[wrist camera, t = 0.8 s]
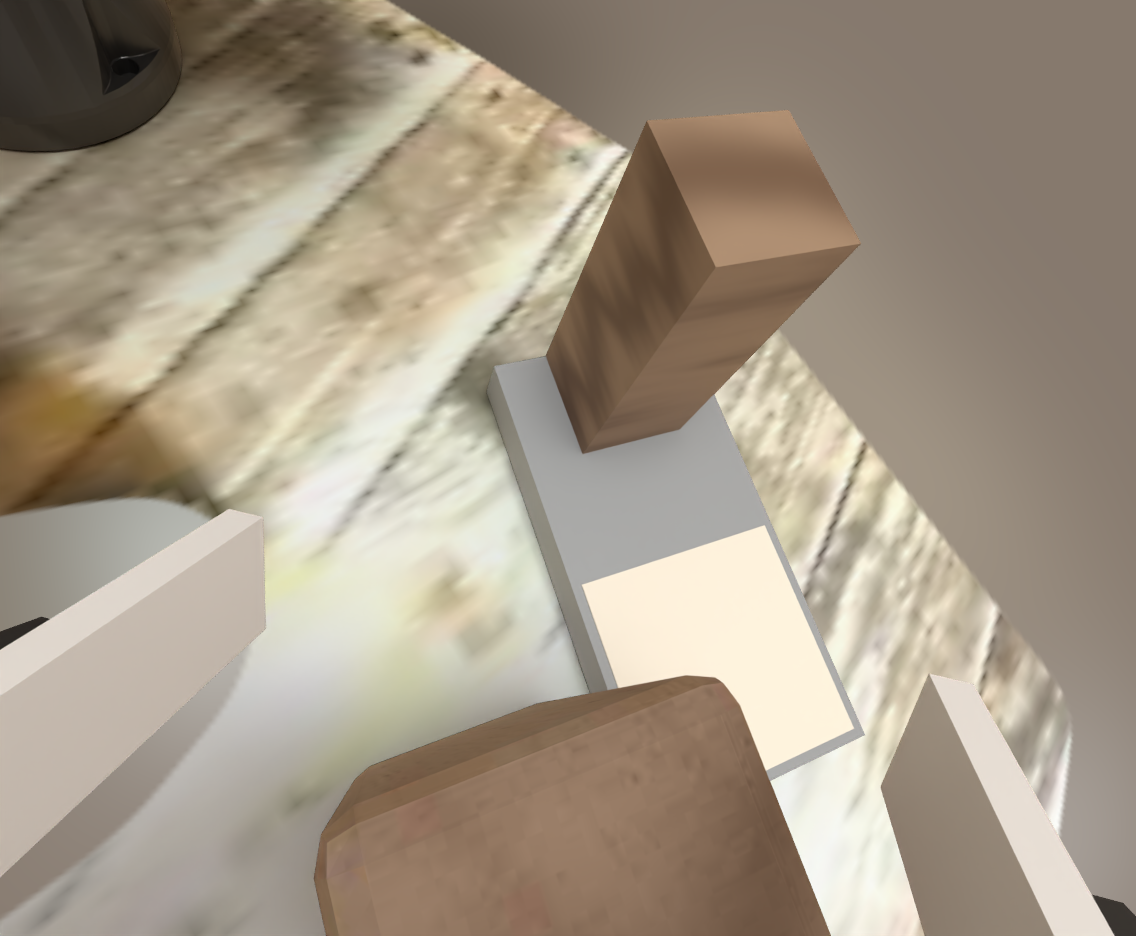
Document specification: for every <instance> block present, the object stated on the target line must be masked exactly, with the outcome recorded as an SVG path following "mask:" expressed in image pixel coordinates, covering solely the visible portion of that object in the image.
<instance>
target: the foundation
mask: <svg viewBox="0 0 1136 936" xmlns="http://www.w3.org/2000/svg"><path fill="white" fill-rule="evenodd" d="M487 394H488V397H489V400H490V403H491V406H492V409H493V412H494V415H495V418H496V421H497V424H498V426H499V429H500V432H501V435H502V438H503V441H504V444H505V447H506V450H507V453H508V456H509V458H510V461H511V464H512V467H513V470H514V473H515V476H516V479H517V482H518V485H519V488H520V490H521V493H522V496H523V499H524V502H525V505H526V508H527V511H528V514H529V517H530V519H531V522H532V525H533V528H534V531H535V534H536V537H537V540H538V543H539V546H540V549H541V551H542V554H543V557H544V560H545V563H546V566H547V569H548V572H549V575H550V578H551V581H552V583H553V586H554V589H555V592H556V595H557V598H558V601H559V604H560V607H561V610H562V613H563V615H564V618H565V621H566V624H567V627H568V630H569V633H570V636H571V639H572V642H573V645H574V647H575V650H576V653H577V656H578V659H579V662H580V665H581V668H582V671H583V674H584V677H585V679H586V682H587V685H588V688H589V691H590V693H595V692H601V691H606V690H611V689H616V688H622V687H627V686H632V685H637V684H643V683H648V682H653V681H658V680H664V679H669V678H674V677H679V676H685V675H690V676H704V677H715V678H717V679H718V680H720V681H721V682H723V683H724V684H725V686H726V687H727V688H728V690H729V691H730V692H731V694H732V695H733V696H734V698H735V699H736V700H737V702H738V703H739V704H740V707H741V709H742V712H743V714H744V717H745V719H746V722H747V724H748V727H749V729H750V732H751V734H752V737H753V739H754V742H755V745H756V747H757V750H758V752H759V755H760V757H761V760H762V762H763V765H764V767H765V770H766V772H767V775H768V777H769V780H770V781H771V780H773V779H775V778H777V777H779V776H781V775H783V774H785V773H787V772H789V771H791V770H793V769H796V768H798V767H800V766H802V765H804V764H806V763H808V762H810V761H812V760H814V759H816V758H818V757H820V756H822V755H825V754H827V753H829V752H831V751H833V750H835V749H837V748H839V747H841V746H843V745H845V744H847V743H849V742H851V741H853V740H856V739H858V738H860V737H862V736H864V735H865V734H864V732H863V729H862V727H861V725H860V723H859V720H858V718H857V716H856V714H855V711H854V709H853V707H852V705H851V702H850V700H849V698H848V696H847V693H846V691H845V689H844V687H843V684H842V682H841V680H840V678H839V675H838V673H837V671H836V669H835V666H834V664H833V662H832V659H831V657H830V655H829V653H828V650H827V648H826V646H825V644H824V641H823V639H822V637H821V635H820V632H819V630H818V628H817V626H816V623H815V621H814V619H813V617H812V614H811V612H810V610H809V608H808V605H807V603H806V601H805V599H804V596H803V594H802V592H801V589H800V587H799V585H798V583H797V580H796V578H795V576H794V574H793V571H792V569H791V567H790V565H789V562H788V560H787V558H786V556H785V553H784V551H783V549H782V547H781V544H780V542H779V540H778V538H777V535H776V533H775V531H774V529H773V526H772V524H771V522H770V520H769V517H768V515H767V513H766V510H765V508H764V506H763V504H762V501H761V499H760V497H759V495H758V492H757V490H756V488H755V486H754V483H753V481H752V479H751V477H750V474H749V472H748V470H747V468H746V465H745V463H744V461H743V459H742V456H741V454H740V452H739V450H738V447H737V445H736V443H735V440H734V438H733V436H732V434H731V431H730V429H729V427H728V425H727V422H726V420H725V418H724V416H723V413H722V411H721V409H720V407H719V404H718V402H717V400H716V398H715V395H713V396H712V397H711V398H710V399H709V400H708V401H707V402H706V403H705V404H704V405H703V406H702V407H701V408H700V409H699V410H698V411H697V412H696V413H695V414H694V415H693V416H692V417H691V418H690V419H689V420H688V421H687V422H686V424H685V425H684V426H683V427H682V428H681V429H679V430H676V431H672V432H668V433H664V434H660V435H656V436H652V437H648V438H644V439H640V440H636V441H632V442H628V443H624V444H621V445H617V446H613V447H609V448H605V449H601V450H597V451H593V452H589V453H585V454H582V451H581V449H580V446H579V443H578V441H577V438H576V435H575V433H574V430H573V427H572V425H571V422H570V420H569V417H568V414H567V412H566V409H565V406H564V404H563V401H562V398H561V396H560V393H559V390H558V388H557V385H556V382H555V380H554V377H553V374H552V372H551V369H550V366H549V364H548V361H547V358H546V356H544V357H539V358H534V359H529V360H523V361H518V362H513V363H508V364H503V365H498V366H494V368H493V372H492V375H491V378H490V382H489V385H488V388H487Z"/></svg>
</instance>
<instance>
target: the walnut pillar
mask: <svg viewBox="0 0 1136 936" xmlns="http://www.w3.org/2000/svg"><path fill="white" fill-rule="evenodd" d="M860 244H861V242H860V240H859V238H858V237H857V235H856V233H855V231H854V229H853V227H852V226H851V224H850V222H849V220H848V218H847V217H846V215H845V213H844V211H843V209H842V207H841V205H840V203H839V202H838V200H837V198H836V196H835V194H834V193H833V191H832V189H831V187H830V185H829V183H828V181H827V180H826V178H825V176H824V174H823V172H822V171H821V169H820V167H819V165H818V163H817V161H816V159H815V157H814V156H813V154H812V152H811V150H810V148H809V146H808V145H807V143H806V141H805V139H804V137H803V135H802V134H801V132H800V130H799V128H798V126H797V124H796V122H795V121H794V119H793V117H792V115H791V113H790V112H789V110H784V111H769V112H756V113H743V114H729V115H716V116H703V117H691V118H690V117H689V118H675V119H662V120H649V121H647V122H646V124H645V126H644V129H643V131H642V133H641V136H640V138H639V140H638V143H637V145H636V147H635V149H634V152H633V154H632V156H631V159H630V161H629V163H628V166H627V168H626V170H625V173H624V175H623V177H622V180H621V182H620V184H619V187H618V189H617V191H616V194H615V196H614V198H613V201H612V203H611V205H610V208H609V210H608V212H607V215H606V217H605V219H604V222H603V224H602V226H601V229H600V231H599V233H598V236H597V238H596V240H595V243H594V245H593V247H592V250H591V252H590V254H589V257H588V259H587V261H586V264H585V266H584V268H583V270H582V273H581V275H580V277H579V280H578V282H577V284H576V287H575V289H574V291H573V294H572V296H571V298H570V301H569V303H568V305H567V308H566V310H565V312H564V315H563V317H562V319H561V322H560V324H559V326H558V329H557V331H556V333H555V336H554V338H553V340H552V343H551V345H550V347H549V350H548V352H547V354H546V358H547V361H548V364H549V366H550V369H551V372H552V374H553V377H554V380H555V382H556V385H557V388H558V390H559V393H560V396H561V398H562V401H563V404H564V406H565V409H566V412H567V414H568V417H569V420H570V422H571V425H572V427H573V430H574V433H575V435H576V438H577V441H578V443H579V446H580V449H581V451H582V454H585V453H589V452H593V451H597V450H601V449H605V448H609V447H613V446H617V445H621V444H624V443H628V442H632V441H636V440H640V439H644V438H648V437H652V436H656V435H660V434H664V433H668V432H672V431H676V430H679V429H681V428H682V427H683V426H684V425H685V424H686V422H687V421H688V420H689V419H690V418H691V417H692V416H693V415H694V414H695V413H696V412H697V411H698V410H699V409H700V408H701V407H702V406H703V405H704V404H705V403H706V402H707V401H708V400H709V399H710V398H711V397H712V396H713V395H714V394H715V393H716V392H717V391H718V390H719V389H720V388H721V387H722V386H723V385H724V384H725V383H726V381H727V380H728V379H729V378H730V377H731V376H732V375H733V374H734V373H735V372H736V371H737V370H738V369H739V368H740V367H741V366H742V365H743V364H744V363H745V362H746V361H747V360H748V359H749V358H750V357H751V356H752V355H753V354H754V353H755V352H756V351H757V350H758V349H759V348H760V347H761V346H762V345H763V344H764V343H765V342H766V340H767V339H768V338H769V337H770V336H771V335H772V334H773V333H774V332H775V331H776V330H777V329H778V328H779V327H780V326H781V325H782V324H783V323H784V322H785V321H786V320H787V319H788V318H789V317H790V316H791V315H792V314H793V313H794V312H795V311H796V309H798V308H799V307H800V306H801V305H802V303H804V302H805V300H806V299H807V298H808V297H809V296H810V295H811V294H812V293H813V292H814V291H815V290H816V289H817V288H818V287H819V286H820V285H821V284H822V283H823V282H824V281H825V280H826V279H827V278H828V277H829V276H830V275H831V274H832V273H833V272H834V271H835V270H836V269H837V268H838V267H839V265H840V264H842V263H843V262H844V261H845V260H846V259H847V257H848V256H849V255H850V254H851V253H852V252H853V251H854V250H855V249H856V248H857V247H858V246H859V245H860Z"/></svg>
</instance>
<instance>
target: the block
mask: <svg viewBox="0 0 1136 936" xmlns="http://www.w3.org/2000/svg"><path fill="white" fill-rule="evenodd" d="M314 881H315V886H316V891H317V895H318V900H319V905H320V909H321V914H322V919H323V923H324V928H325V932H326V936H831V935H830V932H829V930H828V927H827V925H826V922H825V919H824V917H823V914H822V912H821V909H820V907H819V904H818V902H817V899H816V897H815V894H814V892H813V889H812V886H811V884H810V881H809V879H808V876H807V874H806V871H805V869H804V866H803V864H802V861H801V859H800V856H799V854H798V851H797V848H796V846H795V843H794V841H793V838H792V836H791V833H790V831H789V828H788V826H787V823H786V821H785V818H784V816H783V813H782V810H781V808H780V805H779V803H778V800H777V798H776V795H775V793H774V790H773V788H772V785H771V783H770V780H769V777H768V775H767V772H766V770H765V767H764V765H763V762H762V760H761V757H760V755H759V752H758V750H757V747H756V745H755V742H754V739H753V737H752V734H751V732H750V729H749V727H748V724H747V722H746V719H745V717H744V714H743V712H742V709H741V707H740V704H739V703H738V702H737V700H736V699H735V698H734V696H733V695H732V694H731V692H730V691H729V690H728V688H727V687H726V686H725V684H724V683H723V682H721V681H720V680H718V679H717V678H715V677H704V676H690V675H685V676H679V677H674V678H669V679H664V680H658V681H653V682H648V683H643V684H637V685H632V686H627V687H622V688H616V689H611V690H606V691H601V692H595V693H590V694H585V695H580V696H574V697H569V698H564V699H559V700H553V701H548V702H543V703H538V704H535V705H532V706H529V707H527V708H524V709H521V710H519V711H516V712H513V713H511V714H508V715H505V716H503V717H500V718H497V719H495V720H492V721H489V722H487V723H484V724H481V725H479V726H476V727H473V728H471V729H468V730H465V731H463V732H460V733H457V734H455V735H452V736H449V737H447V738H444V739H441V740H439V741H436V742H433V743H431V744H428V745H425V746H423V747H420V748H417V749H415V750H412V751H409V752H407V753H404V754H401V755H399V756H396V757H393V758H391V759H388V760H385V761H383V762H380V763H377V764H375V765H372V766H369V767H368V768H367V769H366V770H365V771H364V772H363V773H362V774H360V775H359V776H358V777H357V778H356V779H355V780H354V782H353V783H352V785H351V787H350V788H349V790H348V791H347V793H346V795H345V796H344V798H343V800H342V801H341V803H340V804H339V806H338V808H337V809H336V811H335V813H334V814H333V816H332V817H331V819H330V821H329V822H328V824H327V826H326V827H325V829H324V830H323V832H322V834H321V837H320V843H319V850H318V856H317V862H316V868H315V874H314Z"/></svg>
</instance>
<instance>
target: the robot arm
mask: <svg viewBox="0 0 1136 936" xmlns="http://www.w3.org/2000/svg"><path fill="white" fill-rule="evenodd" d="M181 67H182V53H181V47H180V43H179V40H178V37H177V33H176V30H175V27H174V23H173V20H172V17H171V13H170V10H169V8H168V6H167V3H166V1H165V0H0V148H4V149H13V150H25V151H53V150H64V149H72V148H79V147H84V146H89V145H93V144H96V143H100V142H103V141H106V140H110V139H112V138H115V137H117V136H120V135H122V134H124V133H126V132H129V131H130V130H132V129H134V128H136V127H138V126H139V125H141V124H142V123H144V122H145V121H147V120H148V119H149V118H151V117H152V116H153V115H154V114H155V113H157V112H158V111H159V110H160V109H161V108H162V107H163V106H164V104H165V103H166V102H167V101H168V99H169V98H170V96H171V95H172V93H173V92H174V90H175V88H176V86H177V83H178V80H179V77H180V73H181ZM265 629H266V620H265V576H264V531H263V517H261V516H257V515H253V514H248V513H244V512H240V511H236V510H231V509H228V510H227V511H225V512H223V513H222V514H220V515H219V516H217V517H215V518H214V519H212V520H210V521H209V522H207V523H206V524H204V525H203V526H201V527H199V528H197V529H196V530H194V531H193V532H191V533H189V534H188V535H186V536H184V537H183V538H181V539H180V540H178V541H176V542H175V543H173V544H171V545H170V546H168V547H167V548H165V549H163V550H162V551H160V552H158V553H157V554H155V555H154V556H152V557H150V558H149V559H147V560H146V561H144V562H142V563H141V564H139V565H137V566H136V567H134V568H132V569H131V570H129V571H128V572H126V573H125V574H123V575H121V576H119V577H118V578H116V579H115V580H113V581H111V582H110V583H108V584H106V585H105V586H103V587H102V588H100V589H99V590H97V591H95V592H94V593H92V594H90V595H89V596H87V597H85V598H84V599H82V600H80V601H79V602H77V603H76V604H74V605H72V606H71V607H69V608H68V609H66V610H64V611H63V612H61V613H59V614H58V615H56V616H54V617H53V618H51V619H48V618H44V617H39V618H37V619H34V620H31V621H28V622H26V623H23V624H20V625H17V626H14V627H12V628H9V629H6V630H3V631H1V632H0V877H1V876H2V875H3V874H4V873H5V872H6V871H7V870H8V869H10V868H11V867H12V866H13V865H14V864H15V863H16V862H17V861H18V860H19V859H20V858H21V857H22V856H23V855H24V854H26V852H28V851H29V850H30V849H31V848H32V847H33V846H34V845H35V844H36V843H37V842H38V841H39V840H41V839H42V838H43V837H44V836H45V835H46V834H47V833H48V832H49V831H50V830H51V829H52V828H53V827H54V826H56V825H57V824H58V823H59V822H60V821H61V820H62V819H63V818H64V817H65V816H66V815H67V814H68V813H69V812H70V811H72V810H73V809H74V807H76V806H77V805H78V804H79V803H80V802H81V801H82V800H83V799H84V798H85V797H87V795H89V794H90V793H91V792H92V791H93V790H94V789H95V788H96V787H97V786H98V785H99V784H100V783H101V782H103V781H104V780H105V779H106V778H107V777H108V776H109V775H110V774H111V773H112V772H113V771H114V770H115V769H116V768H117V767H119V766H120V765H121V764H122V763H123V762H124V761H125V760H126V759H127V758H128V757H129V756H130V755H131V754H132V753H133V752H135V751H136V750H137V749H138V748H139V747H140V746H141V745H142V744H143V743H144V742H145V741H146V740H147V739H148V738H150V736H152V735H153V734H154V733H155V732H156V731H157V730H158V729H159V728H160V727H161V726H162V725H163V724H165V723H166V721H168V720H169V719H170V718H171V717H172V716H173V715H174V714H175V713H176V712H177V711H178V710H179V709H181V708H182V707H183V706H184V705H185V704H186V703H187V702H188V701H189V700H190V699H191V698H192V697H193V696H194V695H195V694H197V693H198V692H199V691H200V690H201V689H202V688H203V687H204V686H205V685H206V684H207V683H208V682H209V681H210V680H211V679H213V678H214V677H215V676H216V675H217V674H218V673H219V672H220V671H221V670H222V669H223V668H224V667H225V666H226V665H228V664H229V663H230V662H231V661H232V660H233V659H234V658H235V657H236V656H237V655H238V654H239V653H240V652H241V651H242V650H244V649H245V648H246V647H247V646H248V645H249V644H250V643H251V642H252V641H253V640H254V639H255V638H256V637H257V636H259V635H260V634H261V633H262V632H263V631H264V630H265ZM881 790H882V794H883V797H884V800H885V804H886V807H887V810H888V814H889V817H890V820H891V824H892V827H893V831H894V834H895V837H896V841H897V844H898V847H899V851H900V854H901V857H902V861H903V864H904V867H905V871H906V874H907V878H908V881H909V884H910V888H911V891H912V894H913V898H914V901H915V904H916V908H917V911H918V915H919V918H920V921H921V925H922V928H923V931H924V935H925V936H1136V916H1135V915H1134V914H1133V913H1132V912H1131V911H1130V910H1129V909H1128V908H1127V907H1126V906H1125V905H1124V903H1121V902H1117V901H1114V900H1110V899H1106V898H1102V897H1099V896H1094V895H1091V893H1090V891H1089V889H1088V888H1087V886H1086V884H1085V882H1084V881H1083V879H1082V877H1081V875H1080V873H1079V871H1078V870H1077V868H1076V866H1075V864H1074V863H1073V861H1072V859H1071V857H1070V855H1069V854H1068V852H1067V850H1066V848H1065V847H1064V845H1063V843H1062V841H1061V839H1060V838H1059V836H1058V834H1057V832H1056V830H1055V829H1054V827H1053V825H1052V823H1051V821H1050V820H1049V818H1048V816H1047V814H1046V813H1045V811H1044V809H1043V807H1042V805H1041V804H1040V802H1039V800H1038V798H1037V797H1036V795H1035V793H1034V791H1033V789H1032V788H1031V786H1030V784H1029V782H1028V780H1027V779H1026V777H1025V775H1024V773H1023V772H1022V770H1021V768H1020V766H1019V764H1018V763H1017V761H1016V759H1015V757H1014V755H1013V754H1012V752H1011V750H1010V748H1009V747H1008V745H1007V743H1006V741H1005V739H1004V738H1003V736H1002V734H1001V732H1000V730H999V729H998V727H997V725H996V723H995V722H994V720H993V718H992V716H991V714H990V713H989V711H988V709H987V707H986V705H985V704H984V702H983V700H982V698H981V697H980V695H979V693H978V691H977V689H976V688H975V686H974V684H971V683H967V682H963V681H959V680H954V679H950V678H946V677H942V676H937V675H933V674H929V675H928V677H927V680H926V682H925V684H924V687H923V689H922V691H921V694H920V696H919V698H918V701H917V703H916V705H915V708H914V710H913V712H912V715H911V717H910V719H909V722H908V724H907V726H906V729H905V731H904V733H903V736H902V738H901V740H900V743H899V745H898V747H897V750H896V752H895V754H894V757H893V759H892V761H891V764H890V766H889V768H888V771H887V773H886V775H885V778H884V780H883V782H882V785H881Z"/></svg>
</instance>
